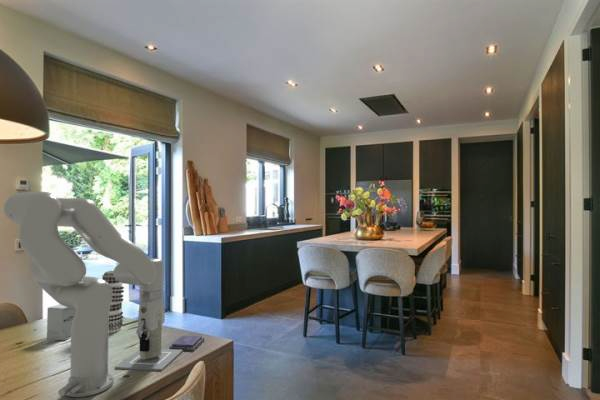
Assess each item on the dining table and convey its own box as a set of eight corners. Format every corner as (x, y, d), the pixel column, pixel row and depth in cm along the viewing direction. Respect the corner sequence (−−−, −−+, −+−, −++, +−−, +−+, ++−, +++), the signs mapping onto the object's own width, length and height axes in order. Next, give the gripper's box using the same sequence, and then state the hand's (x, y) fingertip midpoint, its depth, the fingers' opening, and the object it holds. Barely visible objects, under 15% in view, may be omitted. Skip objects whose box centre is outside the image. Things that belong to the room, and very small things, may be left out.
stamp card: (161, 370, 115) (161, 368, 115) (114, 368, 117) (114, 366, 117) (183, 351, 131) (183, 349, 131) (141, 349, 132) (141, 347, 133)
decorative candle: (94, 331, 152) (95, 272, 153) (113, 325, 161) (113, 269, 162) (109, 334, 149) (110, 273, 150) (128, 327, 157) (128, 270, 158)
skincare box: (157, 351, 127) (158, 317, 128) (161, 355, 124) (162, 320, 124) (138, 356, 123) (139, 320, 124) (142, 360, 120) (143, 323, 120)
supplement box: (61, 340, 142) (62, 308, 143) (46, 339, 144) (46, 307, 144) (76, 334, 149) (77, 303, 150) (61, 333, 151) (62, 302, 151)
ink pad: (193, 350, 131) (193, 345, 131) (169, 349, 132) (169, 344, 132) (204, 340, 142) (204, 335, 142) (181, 339, 143) (181, 335, 143)
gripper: (148, 301, 115) (147, 357, 115) (173, 289, 133) (172, 338, 132) (126, 300, 116) (125, 356, 115) (153, 289, 133) (153, 337, 133)
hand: (150, 346), depth 124 cm, fingers closed on skincare box, 7 cm apart
